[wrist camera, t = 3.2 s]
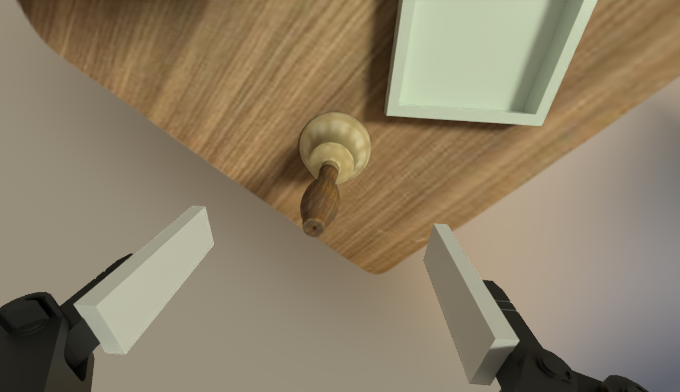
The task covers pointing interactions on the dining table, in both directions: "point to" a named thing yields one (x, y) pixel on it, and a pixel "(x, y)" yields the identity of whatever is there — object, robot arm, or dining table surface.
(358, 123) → the hand bell
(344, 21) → the dining table surface
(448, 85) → the tray
